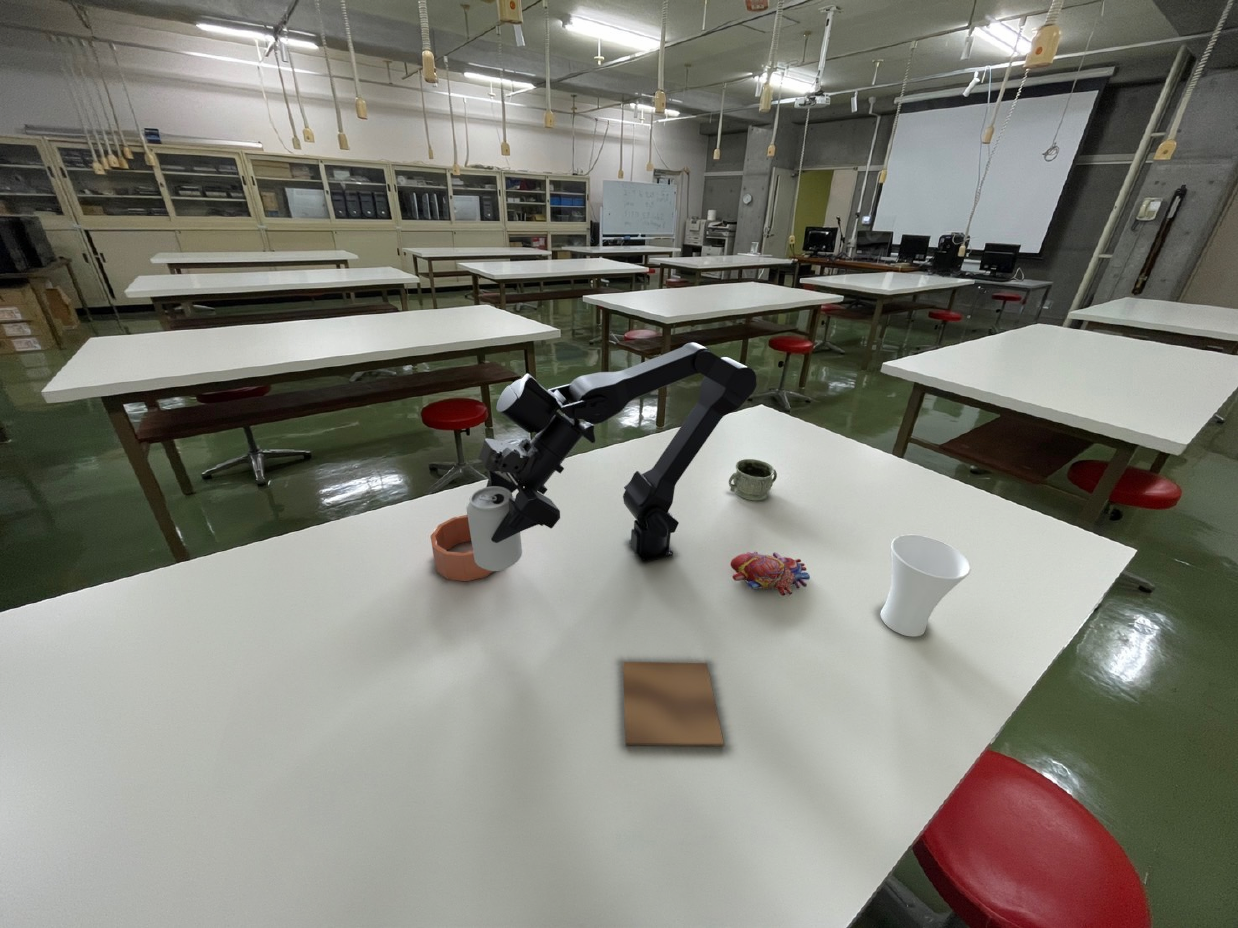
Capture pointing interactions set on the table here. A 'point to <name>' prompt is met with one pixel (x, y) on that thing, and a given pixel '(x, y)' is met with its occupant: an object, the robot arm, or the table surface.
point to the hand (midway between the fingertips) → (485, 527)
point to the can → (491, 529)
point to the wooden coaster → (669, 704)
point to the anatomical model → (769, 571)
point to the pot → (453, 562)
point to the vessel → (752, 479)
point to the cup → (920, 581)
